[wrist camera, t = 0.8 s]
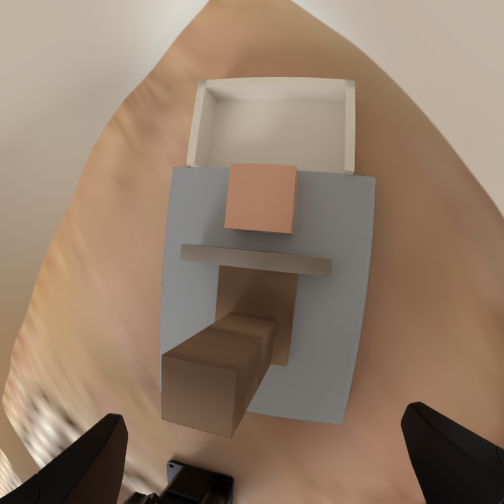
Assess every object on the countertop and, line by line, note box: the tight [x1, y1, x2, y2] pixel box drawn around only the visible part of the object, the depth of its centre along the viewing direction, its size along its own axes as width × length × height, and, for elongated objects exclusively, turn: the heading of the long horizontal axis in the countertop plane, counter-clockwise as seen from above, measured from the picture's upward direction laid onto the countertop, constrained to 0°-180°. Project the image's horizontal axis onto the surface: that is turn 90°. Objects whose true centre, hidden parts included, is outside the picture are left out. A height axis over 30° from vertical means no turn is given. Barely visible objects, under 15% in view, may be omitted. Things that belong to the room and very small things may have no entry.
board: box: [159, 167, 376, 424], centre depth 22 cm, size 17×14×2 cm
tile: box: [224, 163, 299, 235], centre depth 20 cm, size 4×4×2 cm
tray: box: [186, 77, 355, 175], centre depth 21 cm, size 6×11×3 cm, turn 85°
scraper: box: [161, 244, 332, 438], centre depth 16 cm, size 7×9×10 cm
